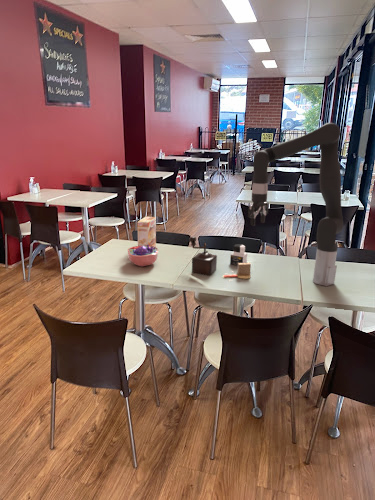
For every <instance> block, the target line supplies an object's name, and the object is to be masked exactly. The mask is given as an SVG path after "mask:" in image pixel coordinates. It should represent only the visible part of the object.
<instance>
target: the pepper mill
mask: <svg viewBox="0 0 375 500" xmlns="http://www.w3.org/2000/svg"><path fill="white" fill-rule="evenodd" d="M188 242H190V243H191V244H190V246H191V247H192V249H195V250H196V249H197V250H198V249H203V252H198V253H197V254H196V255H195V256H194V257H192V258H191V273H192V276H194V277H195V275H194V274H197V275H203V276H209V277H211V276H212V275H213V274H214V273H215V272H216V271H217V261H218V255H217V254H212V253H209V252H208V251H207V250H206V249H207V243H206V242H205V243H203V246H196V245H197V243H196V242H197V238H196V237H195V236H190V237H189V239H188Z"/></svg>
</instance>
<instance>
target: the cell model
mask: <svg viewBox="0 0 375 500" xmlns="http://www.w3.org/2000/svg"><path fill="white" fill-rule="evenodd" d="M158 253H159V249H158V248H157V246H156V247H154V246H150V245H140V246H138V245H135V246H131V247H129V248H127V255H128V256H127V258H128V260H129V261H130V262H131V263H132V264H133V265H136V266H138V267H147V266H150V265H153V264H155V263H156V262H157V259H158V255H159V254H158Z"/></svg>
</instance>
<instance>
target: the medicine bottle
mask: <svg viewBox="0 0 375 500" xmlns="http://www.w3.org/2000/svg"><path fill="white" fill-rule="evenodd" d="M247 261H248V253H247V252H246V246H245V245H244V244H241V243H239V244H238V243H237V244H234V245H233V252H232V253H231V254H230V260H229V265H232V266H237V267H238V263H248V262H247Z"/></svg>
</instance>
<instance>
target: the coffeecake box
mask: <svg viewBox="0 0 375 500" xmlns="http://www.w3.org/2000/svg"><path fill="white" fill-rule="evenodd" d="M156 221H157V218H156V216H144V217H143V218H141V219H139V220H138V221H137V246H140V245H150V246H154V247H156V248H157V236H156V234H157V222H156Z"/></svg>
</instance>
